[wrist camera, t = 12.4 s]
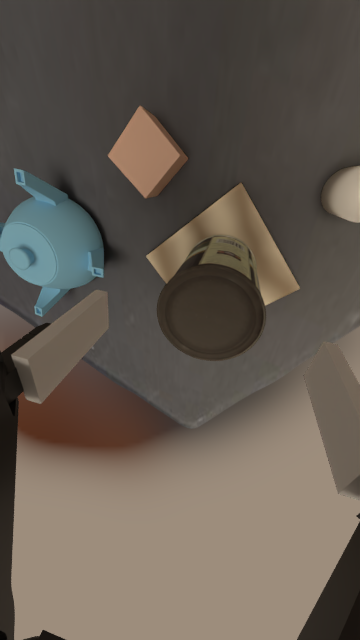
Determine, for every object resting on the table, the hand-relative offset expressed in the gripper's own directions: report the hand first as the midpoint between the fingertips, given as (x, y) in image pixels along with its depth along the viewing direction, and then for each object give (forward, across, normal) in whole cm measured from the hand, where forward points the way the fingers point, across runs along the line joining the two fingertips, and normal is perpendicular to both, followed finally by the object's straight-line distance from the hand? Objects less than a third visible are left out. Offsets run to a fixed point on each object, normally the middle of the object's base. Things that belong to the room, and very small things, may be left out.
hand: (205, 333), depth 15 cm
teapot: (+23, -25, -4) cm, 34 cm away
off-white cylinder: (+23, +12, +8) cm, 27 cm away
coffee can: (+22, 0, -4) cm, 22 cm away
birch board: (+23, 0, -4) cm, 23 cm away
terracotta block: (+23, -11, +9) cm, 27 cm away
